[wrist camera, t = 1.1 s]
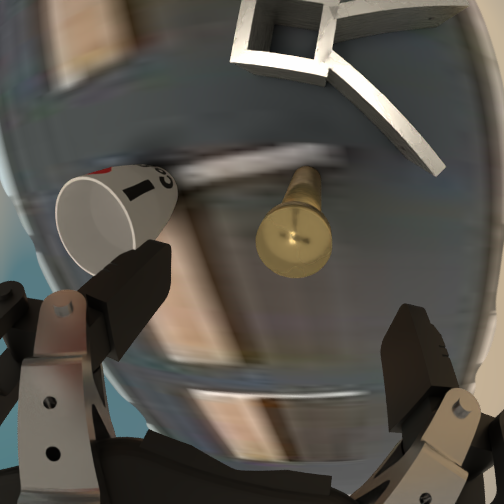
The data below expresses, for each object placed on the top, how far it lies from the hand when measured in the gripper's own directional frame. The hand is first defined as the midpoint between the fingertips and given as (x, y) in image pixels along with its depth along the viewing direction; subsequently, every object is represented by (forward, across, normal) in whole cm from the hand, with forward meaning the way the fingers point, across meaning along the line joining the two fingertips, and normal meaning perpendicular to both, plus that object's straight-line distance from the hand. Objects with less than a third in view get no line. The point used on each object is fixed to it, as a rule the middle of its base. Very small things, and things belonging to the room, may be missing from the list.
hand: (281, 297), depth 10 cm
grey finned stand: (+17, -1, -11) cm, 20 cm away
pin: (+17, 0, 0) cm, 17 cm away
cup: (+17, +14, +4) cm, 23 cm away
